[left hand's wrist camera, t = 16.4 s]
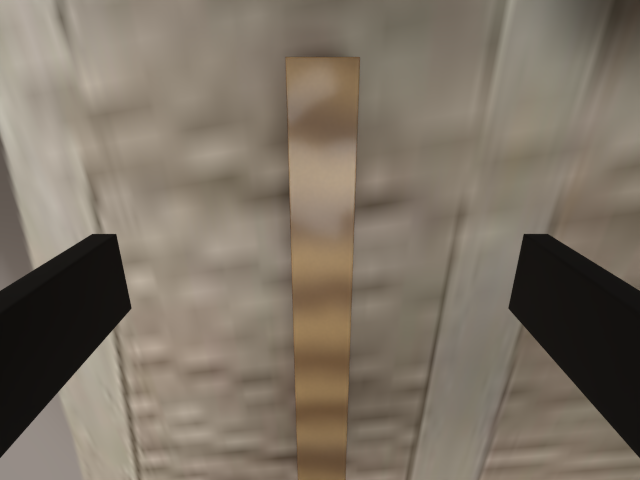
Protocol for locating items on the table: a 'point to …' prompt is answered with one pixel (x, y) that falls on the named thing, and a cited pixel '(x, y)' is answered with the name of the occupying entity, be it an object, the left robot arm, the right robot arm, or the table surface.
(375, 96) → the table surface
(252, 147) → the table surface
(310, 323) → the beam
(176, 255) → the table surface
